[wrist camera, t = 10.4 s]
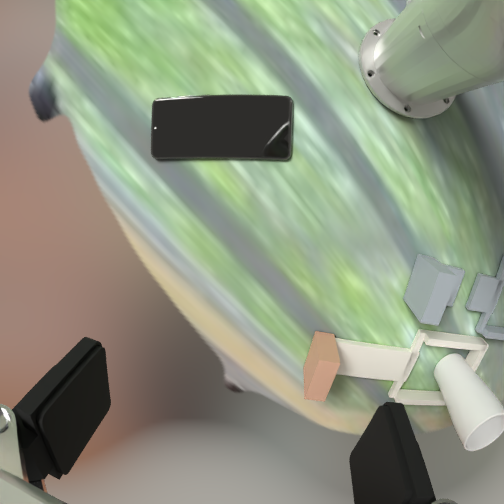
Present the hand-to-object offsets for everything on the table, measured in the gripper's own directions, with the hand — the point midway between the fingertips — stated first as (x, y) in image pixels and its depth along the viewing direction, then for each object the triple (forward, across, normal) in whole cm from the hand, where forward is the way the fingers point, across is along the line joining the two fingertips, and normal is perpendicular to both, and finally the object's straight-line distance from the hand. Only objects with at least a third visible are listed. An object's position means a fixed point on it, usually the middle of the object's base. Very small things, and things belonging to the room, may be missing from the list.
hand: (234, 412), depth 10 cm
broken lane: (+28, -31, +2) cm, 42 cm away
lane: (+28, -21, +15) cm, 38 cm away
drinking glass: (+28, -30, +15) cm, 44 cm away
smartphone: (+29, +8, -10) cm, 32 cm away
